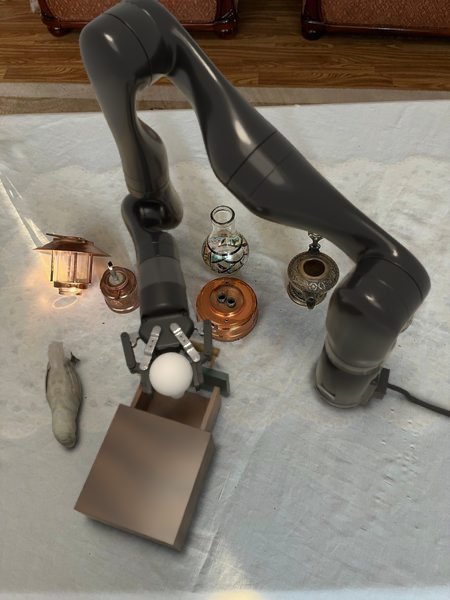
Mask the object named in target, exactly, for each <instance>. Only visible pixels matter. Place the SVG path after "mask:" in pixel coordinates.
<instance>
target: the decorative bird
mask: <svg viewBox="0 0 450 600" xmlns="http://www.w3.org/2000/svg"><path fill="white" fill-rule="evenodd" d="M47 347H48V348H47V349H48V351H47V358H48V361H47V363H46V364H47V366H46V371H45V376H44V377H45V378H44V395H45V398H46V401H47V404H48V406H49V409H50V411H51V429H52V433H53V437H54V438H55V440H56V441H57V442H58V443H59V444H60V445H61V446H63V447H65V448H73V447H74V445H76V442H77V441H76V440H77V425H76V419H77V415H78V411H79V408H80V405H81V402H82V387H81V382H80V379H79V376H78V374H77V371H76V369H75V366H74V364H77V361H78V362H80V361H82V360H81V359H78V358H77V356H75V354H74V353H73V352H72V351H70V359H69V358H68V357H65V348H64V343H63V342H61V341H57V340H51V342H50V343H49V344H48V346H47Z"/></svg>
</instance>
